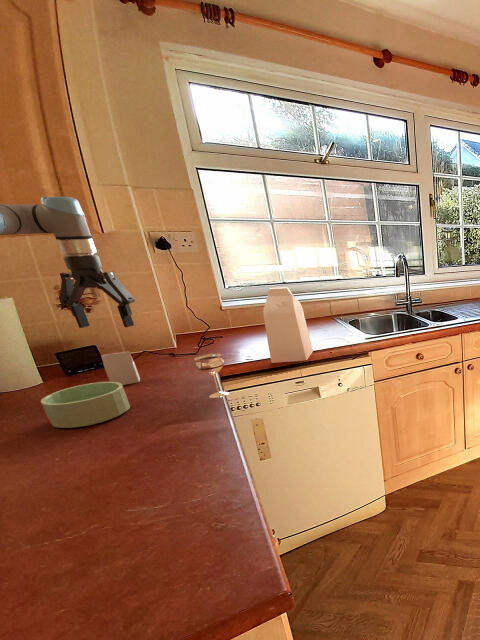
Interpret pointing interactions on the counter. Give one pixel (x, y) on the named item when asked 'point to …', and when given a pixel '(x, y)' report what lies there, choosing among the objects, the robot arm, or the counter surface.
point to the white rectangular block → (120, 368)
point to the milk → (286, 327)
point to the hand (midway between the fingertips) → (107, 326)
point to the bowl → (85, 404)
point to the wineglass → (211, 369)
